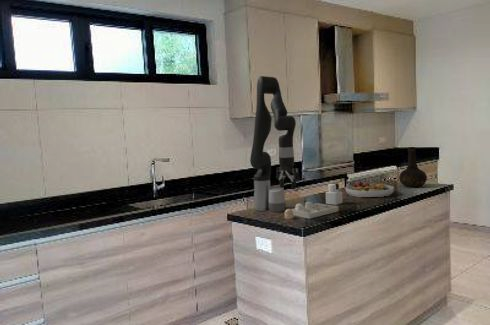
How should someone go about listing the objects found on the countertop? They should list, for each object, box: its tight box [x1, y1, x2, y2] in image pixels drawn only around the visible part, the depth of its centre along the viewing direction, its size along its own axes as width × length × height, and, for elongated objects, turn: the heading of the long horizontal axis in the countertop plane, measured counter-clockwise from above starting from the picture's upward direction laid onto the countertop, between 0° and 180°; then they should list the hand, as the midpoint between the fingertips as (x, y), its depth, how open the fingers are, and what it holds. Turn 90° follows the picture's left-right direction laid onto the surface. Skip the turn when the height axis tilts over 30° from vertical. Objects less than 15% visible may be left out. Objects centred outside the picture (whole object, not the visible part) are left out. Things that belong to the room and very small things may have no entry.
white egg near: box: [294, 202, 305, 211], centre depth 203 cm, size 4×4×6 cm
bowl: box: [345, 180, 395, 198], centre depth 252 cm, size 30×30×8 cm
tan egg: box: [283, 208, 294, 220], centre depth 195 cm, size 4×4×6 cm
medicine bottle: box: [325, 182, 343, 206], centre depth 228 cm, size 7×7×12 cm
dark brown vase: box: [398, 146, 428, 188], centre depth 271 cm, size 18×18×28 cm
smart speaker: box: [268, 185, 287, 213], centre depth 214 cm, size 10×9×14 cm
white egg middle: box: [304, 201, 314, 209], centre depth 207 cm, size 4×4×6 cm
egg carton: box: [290, 202, 340, 219], centre depth 204 cm, size 15×22×3 cm
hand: (287, 188), depth 194 cm, fingers open, 8 cm apart
